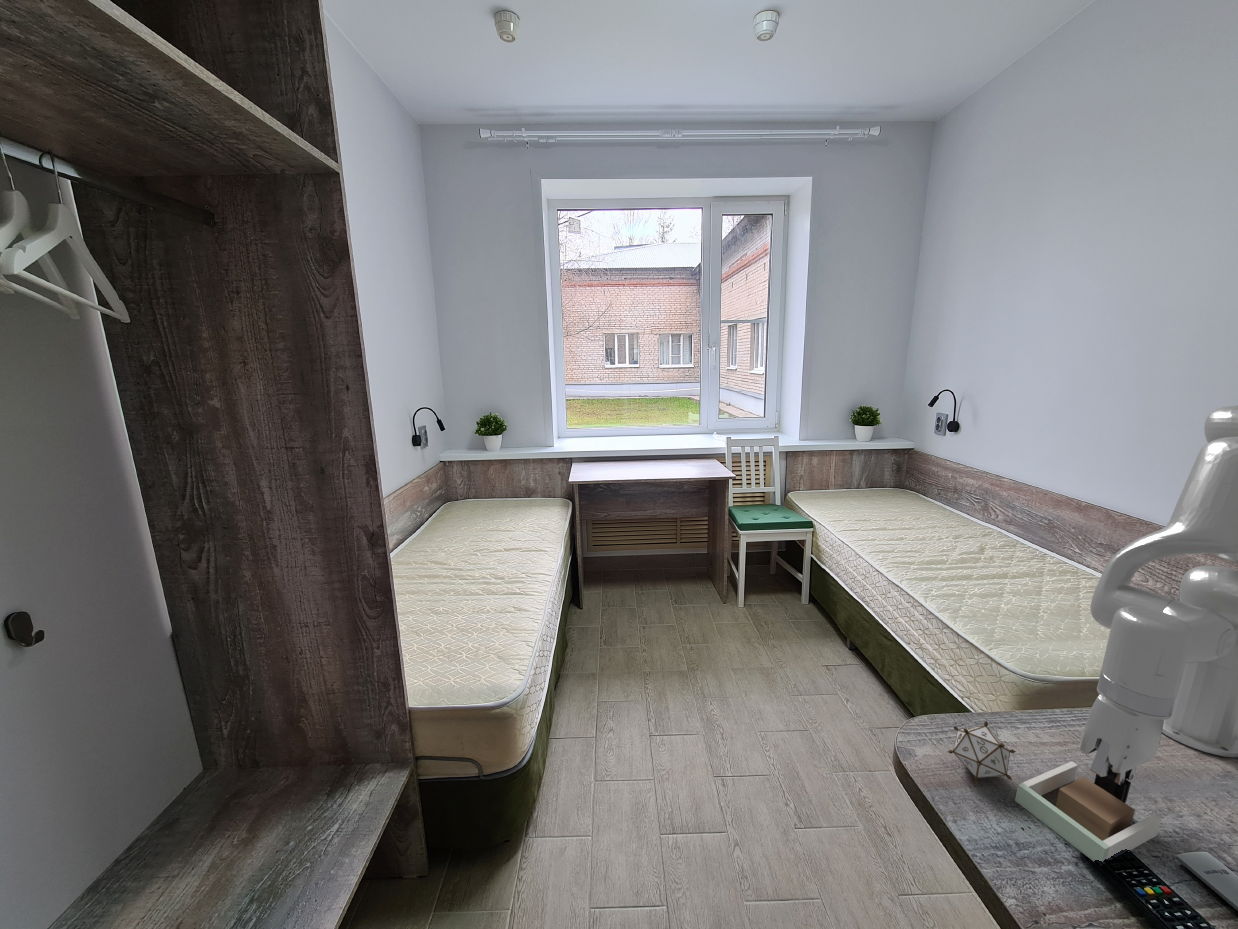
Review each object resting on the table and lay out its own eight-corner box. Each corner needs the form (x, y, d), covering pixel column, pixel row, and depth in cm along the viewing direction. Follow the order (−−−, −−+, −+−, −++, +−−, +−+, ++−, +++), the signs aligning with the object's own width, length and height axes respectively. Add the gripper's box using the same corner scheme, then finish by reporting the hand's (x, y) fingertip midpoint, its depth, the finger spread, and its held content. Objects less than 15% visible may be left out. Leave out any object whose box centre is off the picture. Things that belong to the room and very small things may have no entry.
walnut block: (1078, 798, 75) (1083, 776, 74) (1129, 832, 70) (1135, 809, 69) (1054, 810, 73) (1059, 789, 72) (1105, 847, 67) (1110, 824, 67)
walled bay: (1068, 776, 78) (1071, 761, 78) (1156, 835, 69) (1161, 818, 68) (1014, 800, 74) (1018, 784, 74) (1100, 867, 65) (1105, 849, 64)
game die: (988, 798, 79) (1039, 788, 72) (937, 775, 80) (982, 763, 73) (980, 741, 85) (1025, 727, 78) (932, 720, 86) (973, 704, 79)
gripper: (1131, 666, 75) (1107, 764, 79) (1070, 687, 70) (1048, 791, 74) (1201, 697, 68) (1170, 803, 72) (1139, 723, 63) (1109, 836, 67)
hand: (1108, 797), depth 73 cm, fingers closed
